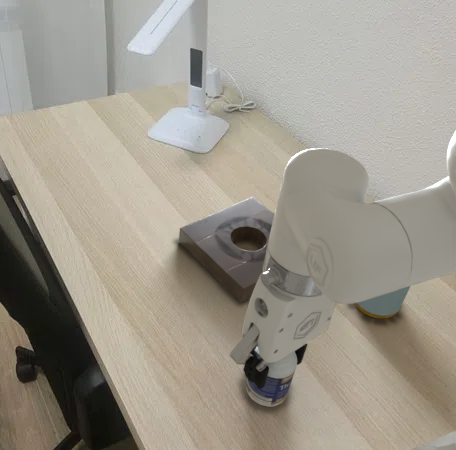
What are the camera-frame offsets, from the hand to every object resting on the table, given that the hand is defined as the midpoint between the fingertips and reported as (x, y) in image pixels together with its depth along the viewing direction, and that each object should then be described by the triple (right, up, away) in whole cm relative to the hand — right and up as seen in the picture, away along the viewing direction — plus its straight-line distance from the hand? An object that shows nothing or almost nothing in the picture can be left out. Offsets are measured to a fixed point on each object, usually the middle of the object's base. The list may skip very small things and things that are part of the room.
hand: (272, 366), depth 68 cm
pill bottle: (0, -4, +3) cm, 5 cm away
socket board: (0, +13, +23) cm, 26 cm away
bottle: (+19, +6, +15) cm, 25 cm away
